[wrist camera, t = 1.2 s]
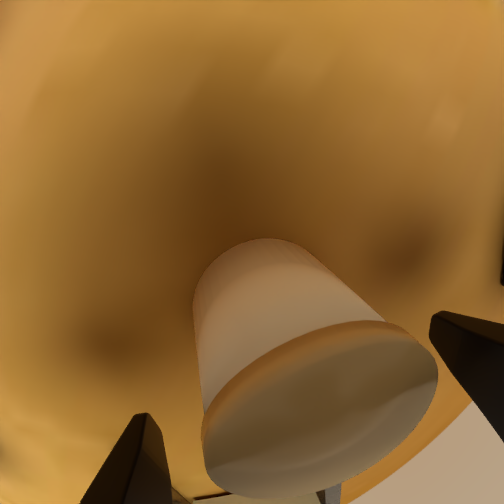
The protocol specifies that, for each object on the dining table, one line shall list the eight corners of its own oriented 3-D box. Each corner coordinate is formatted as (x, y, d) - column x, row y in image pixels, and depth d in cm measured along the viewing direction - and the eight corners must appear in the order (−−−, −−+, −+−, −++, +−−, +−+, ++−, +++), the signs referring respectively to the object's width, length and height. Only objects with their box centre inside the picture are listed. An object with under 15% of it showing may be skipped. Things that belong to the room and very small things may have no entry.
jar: (321, 217, 11) (456, 297, 5) (334, 337, 13) (415, 445, 7) (168, 258, 10) (157, 406, 4) (212, 376, 13) (241, 513, 6)
